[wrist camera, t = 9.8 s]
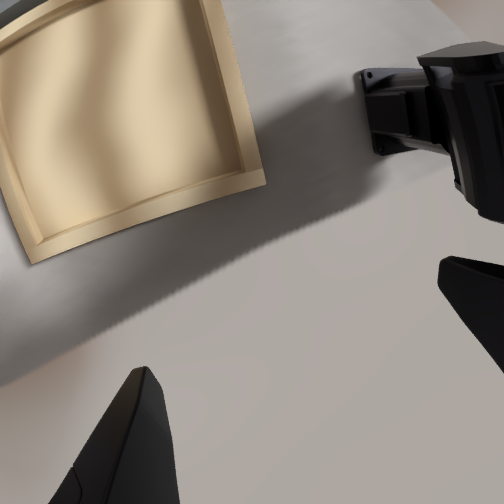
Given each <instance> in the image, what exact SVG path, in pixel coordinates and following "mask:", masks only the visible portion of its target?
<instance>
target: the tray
mask: <svg viewBox="0 0 504 504" xmlns="http://www.w3.org/2000/svg"><path fill="white" fill-rule="evenodd" d="M46 1H48V0H0V29H2V28H3V27H5V26H6V25H8V24H9V23H11V22H12V21H14V20H16V19H17V18H19V17H20V16H22V15H24V14H25V13H27V12H29V11H30V10H32V9H34V8H36V7H37V6H39V5H41V4H43V3H45V2H46Z"/></svg>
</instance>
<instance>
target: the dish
mask: <svg viewBox="0 0 504 504" xmlns="http://www.w3.org/2000/svg"><path fill="white" fill-rule="evenodd" d="M263 185H267V184H266V179H265V175H264V170H263V166H262V162H261V157H260V153H259V149H258V144H257V140H256V136H255V132H254V127H253V123H252V119H251V115H250V111H249V107H248V103H247V99H246V94H245V90H244V86H243V82H242V79H241V75H240V71H239V67H238V63H237V59H236V55H235V51H234V47H233V44H232V40H231V36H230V32H229V29H228V25H227V21H226V18H225V14H224V10H223V7H222V3H221V0H48V1H46V2H45V3H43V4H41V5H39V6H37V7H36V8H34V9H32V10H30V11H29V12H27V13H25V14H24V15H22V16H20V17H19V18H17V19H16V20H14V21H12V22H11V23H9V24H8V25H6V26H5V27H3V28H2V29H0V187H1V190H2V193H3V196H4V199H5V202H6V205H7V207H8V210H9V213H10V215H11V218H12V220H13V223H14V225H15V228H16V230H17V233H18V235H19V237H20V240H21V242H22V244H23V246H24V249H25V251H26V253H27V255H28V257H29V259H30V261H31V264H34V263H36V262H39V261H41V260H44V259H46V258H49V257H51V256H53V255H56V254H58V253H61V252H64V251H66V250H69V249H71V248H74V247H76V246H79V245H82V244H84V243H87V242H89V241H92V240H95V239H97V238H100V237H103V236H106V235H108V234H111V233H114V232H117V231H119V230H122V229H125V228H128V227H131V226H134V225H137V224H139V223H142V222H145V221H148V220H151V219H154V218H157V217H160V216H163V215H166V214H169V213H172V212H176V211H179V210H182V209H185V208H188V207H191V206H194V205H198V204H201V203H204V202H207V201H211V200H214V199H217V198H221V197H224V196H228V195H231V194H234V193H238V192H241V191H245V190H248V189H252V188H256V187H259V186H263Z"/></svg>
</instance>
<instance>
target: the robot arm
mask: <svg viewBox="0 0 504 504" xmlns="http://www.w3.org/2000/svg"><path fill="white" fill-rule="evenodd" d="M417 59H418V62H419V64H420V66H422V67H423V69H411V68H368V69H364V70H362V72H361V78H362V83H363V88H364V93H365V102H366V108H367V114H368V120H369V126H370V130H371V134H372V141H373V148H374V152H375V153H376V154H377V155H380V156H384V155H389V154H394V153H399V152H404V151H410V150H415V149H423V150H427V151H432V152H436V153H440V154H445V155H449V156H450V157H451V161H452V166H453V170H454V175H455V179H454V183H455V187H456V188H457V189H458V190H459V191H460V192H461V193H462V194H463V195H464V197H465V199H466V201H467V202H468V203H470V204H471V205H472V206H473V207H475V208H476V209H478V214H479V215H480V216H481V217H483V218H485V219H488V220H490V221H494V222H497V223H501V224H504V46H503V45H498V44H494V43H490V42H485V41H482V42H472V43H464V44H457V45H453V46H450V47H447V48H443V49H440V50H437V51H434V52H431V53H427V54H424V55H421V56H418V57H417ZM367 73H369V75H370V77H369V78H368V77H367ZM380 146H381V147H382V150H381V151H380V150H379V148H380ZM438 287H439V289H440V290H441V292H442V293H443V294H444V296H445V297H446V298H447V300H448V301H449V303H450V304H451V305H452V307H453V308H454V310H455V311H456V313H457V314H458V315H459V317H460V318H461V320H462V321H463V322H464V323H465V325H466V326H467V327H468V328H469V330H470V331H471V332H472V333H473V334H474V336H475V337H476V338H477V339H478V341H479V342H480V343H481V344H482V346H483V347H484V348H485V349H486V351H487V352H488V353H489V355H490V356H491V357H492V358H493V360H494V361H495V362H496V364H497V365H498V366H499V368H500V369H501V370H502V372H503V373H504V266H503V265H498V264H493V263H487V262H483V261H477V260H471V259H466V258H461V257H455V256H448V257H446V258H444V259H442V260H441V261H440V264H439V272H438ZM48 504H180V500H179V493H178V486H177V478H176V469H175V460H174V451H173V442H172V436H171V431H170V426H169V421H168V416H167V411H166V405H165V400H164V394H163V390H162V387H161V386H160V384H159V382H158V381H157V379H156V378H155V376H154V375H153V373H152V372H151V370H150V369H149V368H148V367H146V366H143V367H139V368H135V369H133V370H132V371H131V372H130V374H129V376H128V377H127V379H126V380H125V382H124V384H123V385H122V386H121V388H120V390H119V391H118V393H117V394H116V396H115V397H114V399H113V400H112V402H111V404H110V405H109V407H108V408H107V410H106V412H105V413H104V415H103V417H102V418H101V419H100V421H99V423H98V424H97V426H96V428H95V429H94V431H93V432H92V434H91V435H90V437H89V439H88V440H87V442H86V444H85V445H84V447H83V449H82V450H81V452H80V454H79V455H78V457H77V459H76V460H75V462H74V463H73V467H71V468H70V470H69V472H68V473H67V475H66V477H65V478H64V480H63V482H62V483H61V485H60V487H59V488H58V490H57V492H56V493H55V494H54V496H53V497H52V499H51V500H50V502H49V503H48Z"/></svg>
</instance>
